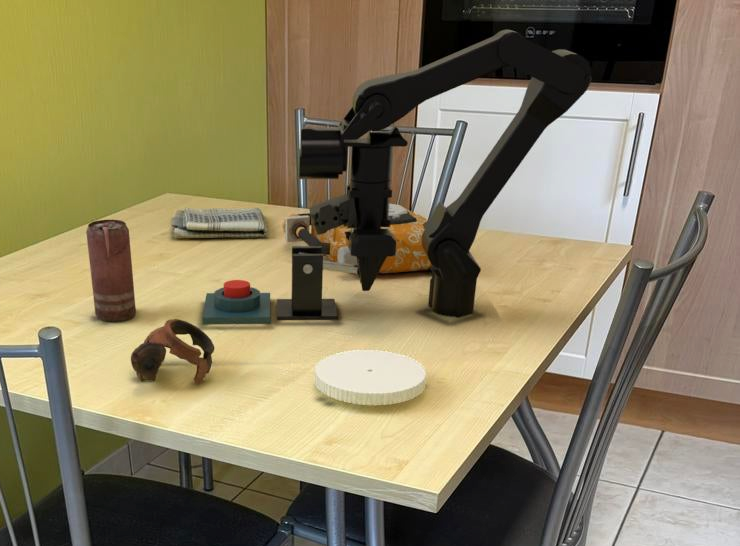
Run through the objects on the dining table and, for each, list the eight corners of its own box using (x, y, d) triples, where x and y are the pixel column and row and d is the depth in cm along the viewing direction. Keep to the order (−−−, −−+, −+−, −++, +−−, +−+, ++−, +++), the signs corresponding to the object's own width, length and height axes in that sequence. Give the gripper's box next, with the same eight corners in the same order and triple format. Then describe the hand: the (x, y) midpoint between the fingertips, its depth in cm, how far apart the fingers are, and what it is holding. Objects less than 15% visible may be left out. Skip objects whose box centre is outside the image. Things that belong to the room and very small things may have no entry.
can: (98, 325, 137) (88, 231, 130) (93, 311, 143) (83, 219, 135) (139, 321, 139) (131, 227, 131) (132, 308, 144) (124, 216, 137)
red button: (250, 290, 141) (250, 279, 140) (250, 299, 137) (249, 288, 136) (224, 291, 141) (224, 279, 140) (223, 299, 137) (222, 288, 137)
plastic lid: (413, 366, 123) (415, 348, 122) (434, 411, 112) (436, 392, 110) (309, 368, 123) (310, 350, 122) (319, 414, 111) (320, 395, 110)
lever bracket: (334, 305, 144) (336, 243, 139) (337, 324, 137) (339, 258, 132) (276, 306, 144) (276, 243, 139) (276, 324, 137) (276, 258, 132)
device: (329, 240, 146) (275, 197, 170) (328, 291, 150) (275, 242, 175) (459, 228, 151) (388, 188, 175) (454, 278, 155) (386, 232, 180)
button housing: (270, 303, 145) (270, 281, 144) (270, 328, 136) (270, 305, 134) (207, 303, 146) (206, 281, 144) (202, 328, 136) (201, 305, 134)
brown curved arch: (158, 359, 127) (186, 310, 123) (205, 403, 125) (234, 355, 121) (101, 367, 117) (128, 314, 113) (150, 415, 115) (180, 362, 111)
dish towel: (262, 215, 192) (262, 199, 190) (268, 239, 177) (268, 222, 175) (173, 217, 191) (172, 201, 189) (171, 241, 176) (170, 224, 174)
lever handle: (374, 279, 139) (378, 258, 138) (376, 286, 137) (380, 264, 135) (295, 269, 139) (299, 247, 137) (296, 275, 136) (299, 254, 134)
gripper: (311, 165, 138) (308, 268, 146) (316, 194, 122) (313, 308, 131) (385, 165, 138) (379, 268, 146) (400, 194, 122) (392, 308, 130)
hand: (364, 286), depth 138 cm, fingers closed on lever handle, 3 cm apart
